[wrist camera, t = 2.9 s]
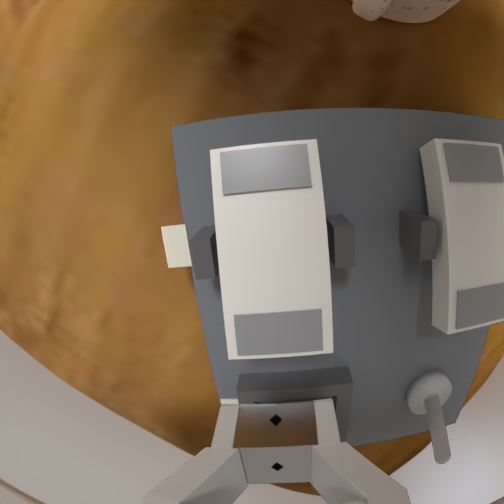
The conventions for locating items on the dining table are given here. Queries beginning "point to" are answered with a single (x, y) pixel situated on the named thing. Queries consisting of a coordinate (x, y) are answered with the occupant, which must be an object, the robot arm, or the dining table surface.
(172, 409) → the dining table surface
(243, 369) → the panel
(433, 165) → the rocker
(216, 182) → the rocker
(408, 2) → the teacup with lid
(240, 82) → the dining table surface
